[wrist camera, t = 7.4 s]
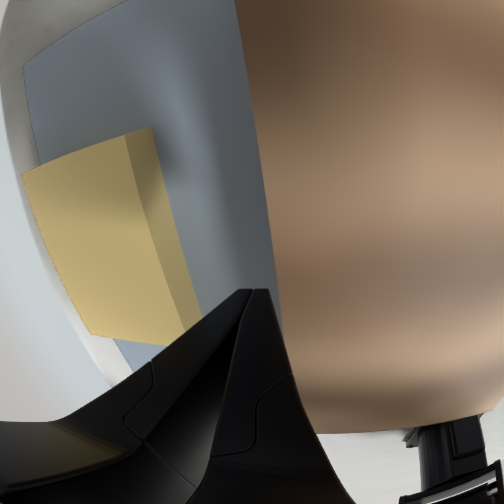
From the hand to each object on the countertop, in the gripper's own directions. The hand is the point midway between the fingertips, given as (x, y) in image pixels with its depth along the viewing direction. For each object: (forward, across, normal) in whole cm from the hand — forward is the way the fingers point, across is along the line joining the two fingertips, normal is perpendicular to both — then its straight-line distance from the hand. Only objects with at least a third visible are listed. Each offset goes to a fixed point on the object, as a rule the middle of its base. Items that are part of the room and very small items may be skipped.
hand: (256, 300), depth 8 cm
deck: (+5, -6, 0) cm, 8 cm away
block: (+2, +8, 0) cm, 8 cm away
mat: (+5, +6, 0) cm, 8 cm away
